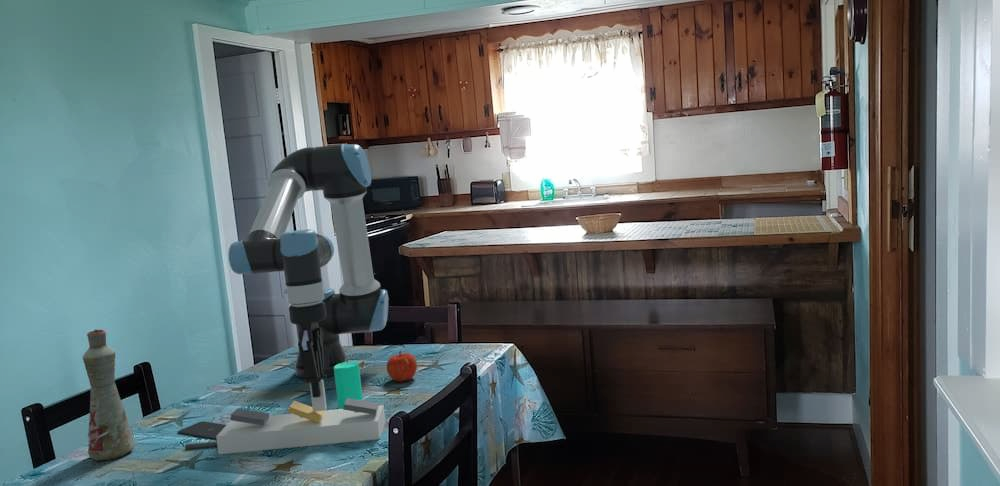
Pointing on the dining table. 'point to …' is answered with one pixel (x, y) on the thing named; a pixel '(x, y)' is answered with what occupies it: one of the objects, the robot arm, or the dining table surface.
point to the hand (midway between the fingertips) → (319, 409)
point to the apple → (401, 367)
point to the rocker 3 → (361, 406)
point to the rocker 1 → (249, 416)
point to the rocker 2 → (305, 411)
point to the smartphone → (203, 430)
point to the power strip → (298, 431)
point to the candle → (347, 382)
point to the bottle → (105, 403)
